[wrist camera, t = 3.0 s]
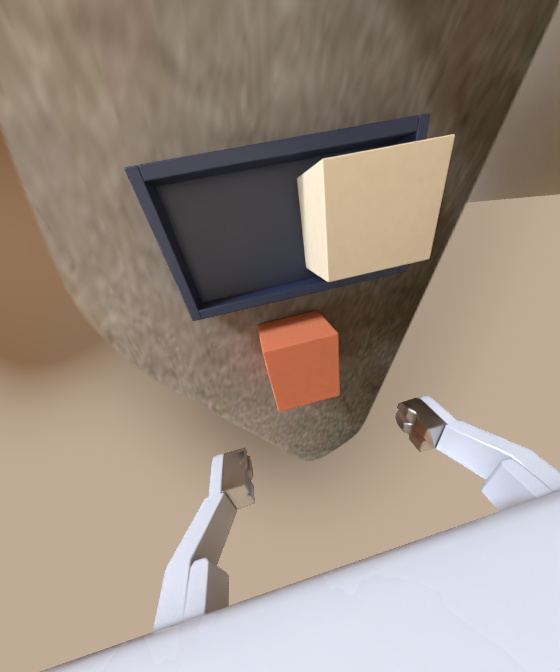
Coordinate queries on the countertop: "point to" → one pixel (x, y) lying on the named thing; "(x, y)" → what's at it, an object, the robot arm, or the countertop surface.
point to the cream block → (373, 207)
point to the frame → (248, 215)
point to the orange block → (301, 359)
